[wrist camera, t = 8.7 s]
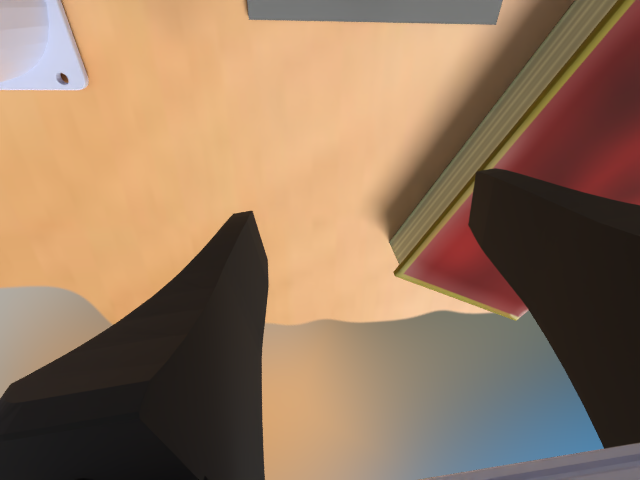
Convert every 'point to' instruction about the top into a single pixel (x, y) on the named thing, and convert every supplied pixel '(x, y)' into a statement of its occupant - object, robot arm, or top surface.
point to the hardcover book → (537, 148)
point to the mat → (378, 11)
